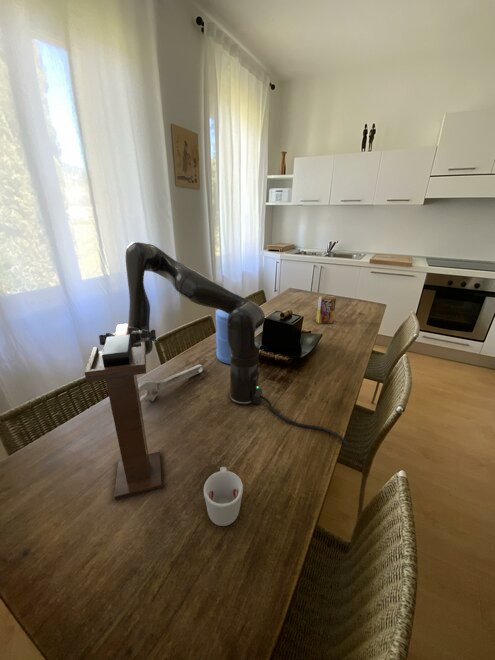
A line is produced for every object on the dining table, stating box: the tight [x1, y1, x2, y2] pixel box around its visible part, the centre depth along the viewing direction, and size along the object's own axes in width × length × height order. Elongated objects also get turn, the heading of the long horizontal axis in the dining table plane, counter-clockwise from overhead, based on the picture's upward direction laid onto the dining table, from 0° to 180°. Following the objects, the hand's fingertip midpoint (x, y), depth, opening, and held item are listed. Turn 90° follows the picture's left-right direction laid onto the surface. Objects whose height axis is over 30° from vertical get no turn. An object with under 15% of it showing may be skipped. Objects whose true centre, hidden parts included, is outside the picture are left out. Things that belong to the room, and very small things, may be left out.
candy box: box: [315, 295, 337, 324], centre depth 161 cm, size 9×4×15 cm, turn 99°
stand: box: [83, 342, 163, 500], centre depth 61 cm, size 10×10×33 cm
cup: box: [203, 466, 244, 527], centre depth 60 cm, size 11×8×8 cm
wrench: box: [138, 363, 205, 403], centre depth 100 cm, size 8×2×30 cm
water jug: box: [215, 293, 240, 365], centre depth 117 cm, size 16×16×28 cm
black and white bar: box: [102, 323, 132, 368], centre depth 59 cm, size 18×4×3 cm, turn 19°
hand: (126, 335), depth 71 cm, fingers open, 8 cm apart
